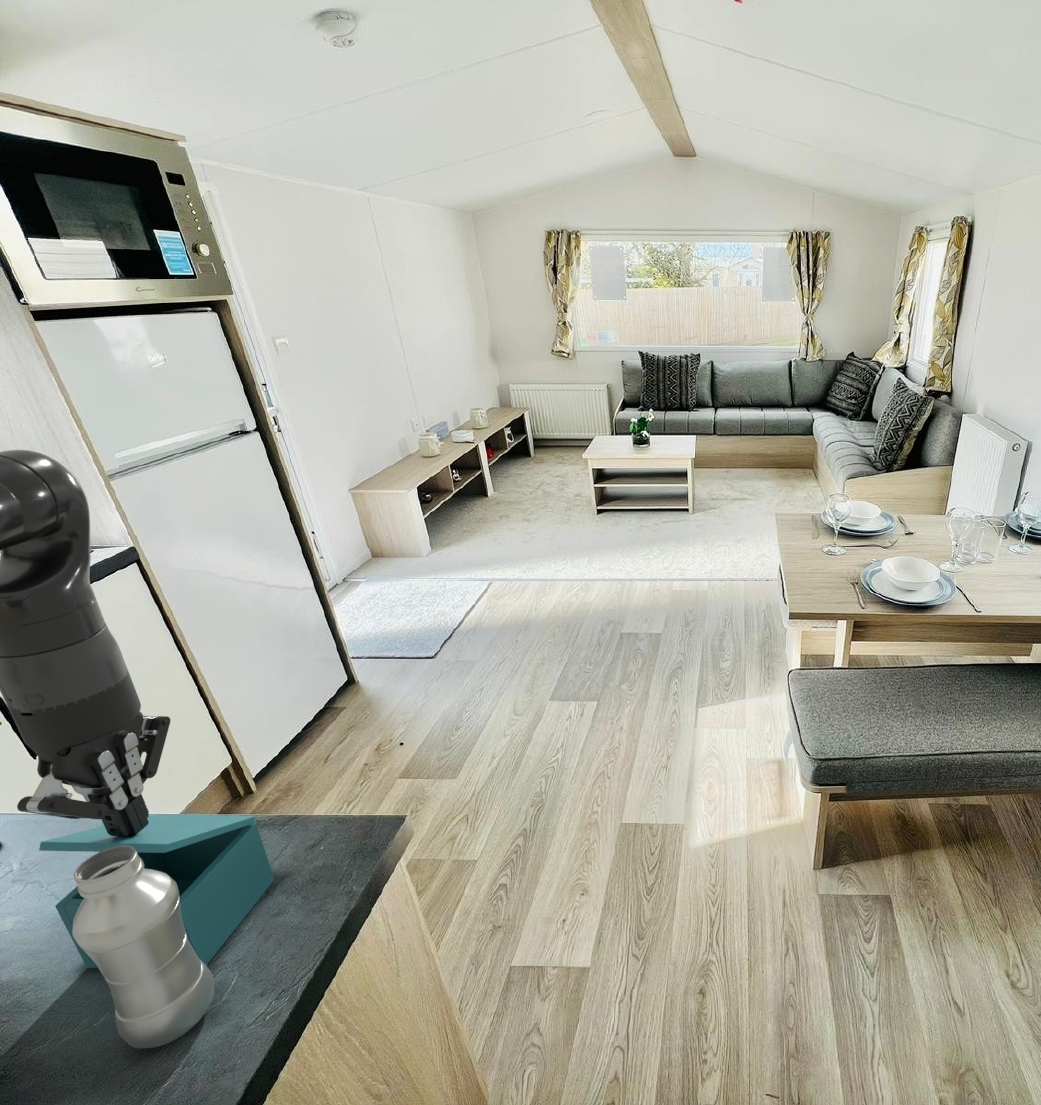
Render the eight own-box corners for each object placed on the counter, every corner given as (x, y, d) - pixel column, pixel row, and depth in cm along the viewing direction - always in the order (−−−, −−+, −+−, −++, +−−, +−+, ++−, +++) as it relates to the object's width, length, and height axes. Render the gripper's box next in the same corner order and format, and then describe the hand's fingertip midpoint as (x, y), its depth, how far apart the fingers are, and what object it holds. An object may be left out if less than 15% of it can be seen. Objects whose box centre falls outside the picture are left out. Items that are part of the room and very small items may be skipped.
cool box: (203, 969, 63) (177, 907, 59) (86, 968, 62) (54, 905, 59) (274, 880, 72) (256, 822, 69) (174, 878, 72) (150, 820, 69)
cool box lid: (165, 853, 58) (166, 844, 58) (38, 850, 57) (40, 841, 58) (254, 823, 69) (255, 815, 69) (148, 821, 69) (150, 813, 69)
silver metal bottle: (125, 1020, 58) (46, 862, 51) (216, 971, 62) (156, 819, 55) (128, 1077, 54) (43, 914, 46) (226, 1021, 58) (162, 863, 51)
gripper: (96, 642, 60) (151, 782, 67) (-66, 728, 48) (21, 889, 54) (174, 644, 60) (222, 783, 67) (33, 729, 48) (108, 890, 55)
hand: (131, 831), depth 61 cm, fingers closed
